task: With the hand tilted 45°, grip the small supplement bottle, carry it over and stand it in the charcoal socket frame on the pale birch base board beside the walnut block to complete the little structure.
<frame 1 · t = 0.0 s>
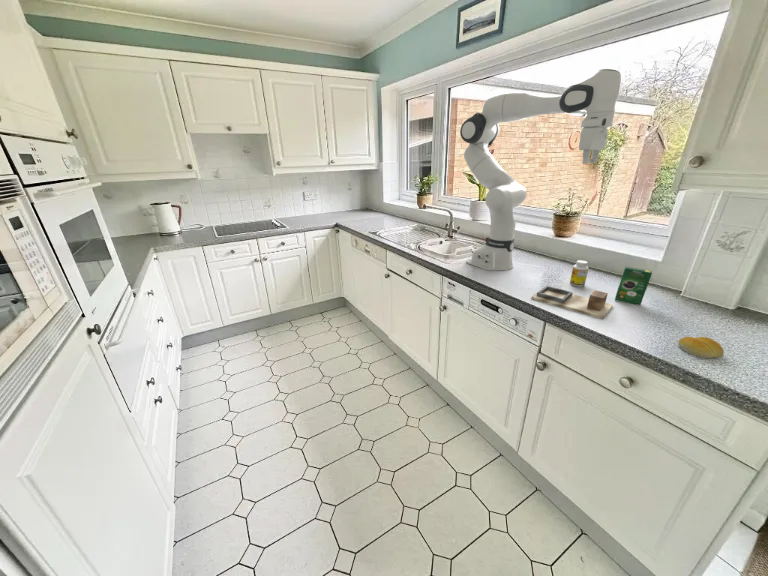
hand: (589, 163, 120), 48 cm above the countertop, tool pointing down, fingers open, 8 cm apart
coffee box: (627, 302, 119), on the countertop
supplement bottle: (576, 284, 135), on the countertop
bread roll: (698, 351, 89), on the countertop
wooden board with frame: (570, 302, 119), on the countertop
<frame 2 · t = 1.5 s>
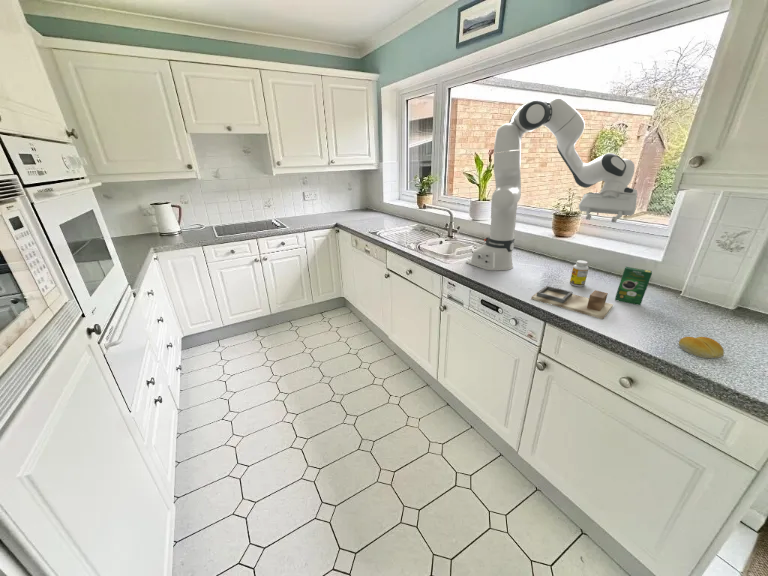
hand: (600, 220, 134), 25 cm above the countertop, tool tilted 45°, fingers open, 8 cm apart
nothing on the countertop moved.
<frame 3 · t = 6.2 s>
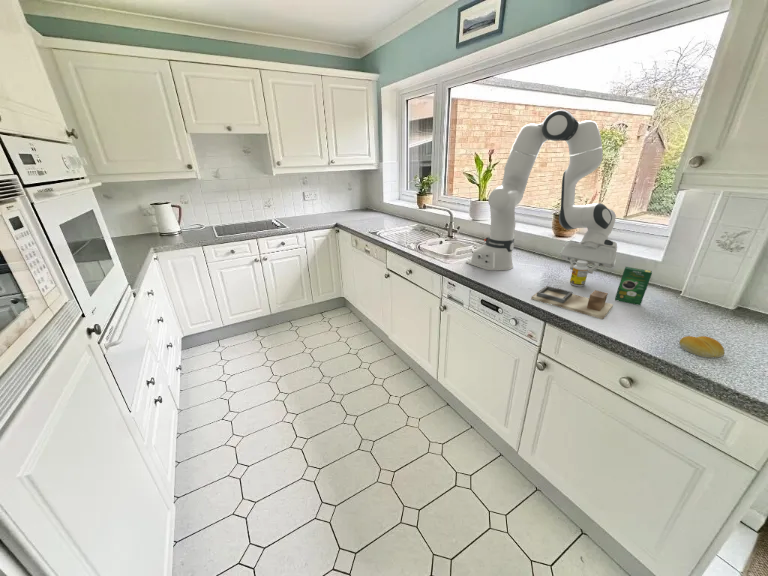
hand: (580, 270, 133), 6 cm above the countertop, tool tilted 45°, fingers closed on supplement bottle, 5 cm apart
supplement bottle: (576, 284, 135), on the countertop, touching gripper
everything else where it was.
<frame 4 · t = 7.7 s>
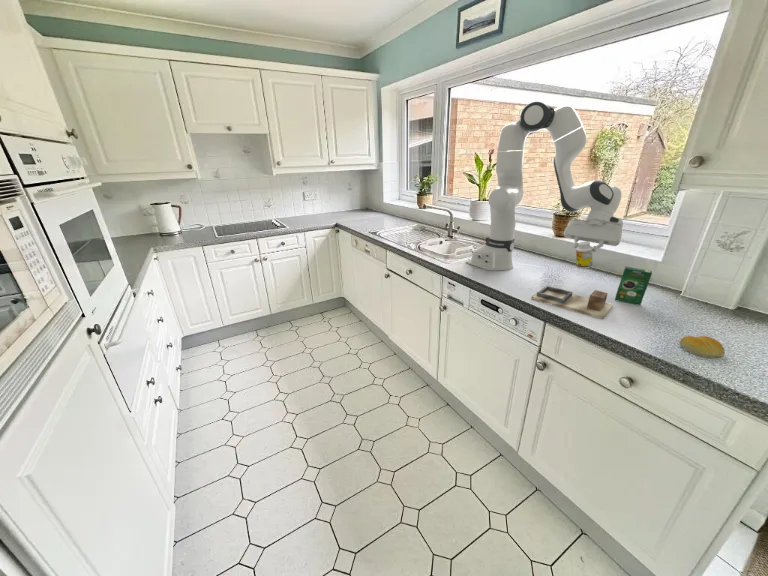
hand: (584, 249, 130), 15 cm above the countertop, tool tilted 45°, fingers closed on supplement bottle, 5 cm apart
supplement bottle: (584, 267, 131), point 8 cm above the countertop, touching gripper
everything else where it was.
when the fingers open (15 cm above the countertop, at t = 10.7 s): supplement bottle drops 6 cm, resting on wooden board with frame.
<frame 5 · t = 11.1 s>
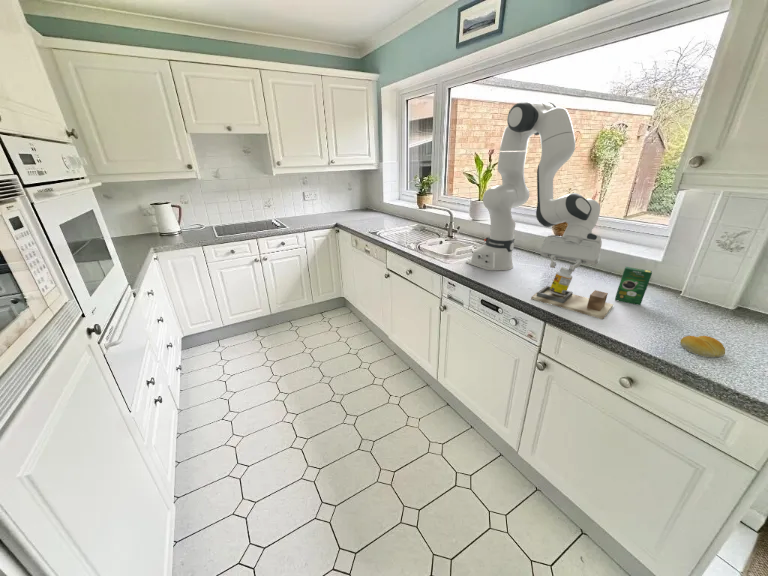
hand: (561, 268, 118), 12 cm above the countertop, tool tilted 45°, fingers open, 5 cm apart
supplement bottle: (556, 294, 123), point 1 cm above the countertop, touching wooden board with frame, gripper
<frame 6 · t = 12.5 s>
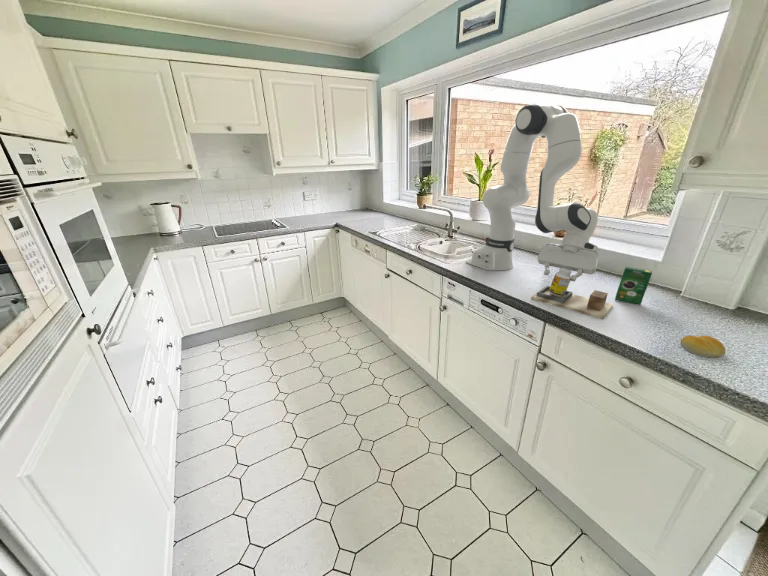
hand: (558, 277, 120), 8 cm above the countertop, tool tilted 45°, fingers open, 8 cm apart
supplement bottle: (555, 294, 123), point 1 cm above the countertop, touching wooden board with frame
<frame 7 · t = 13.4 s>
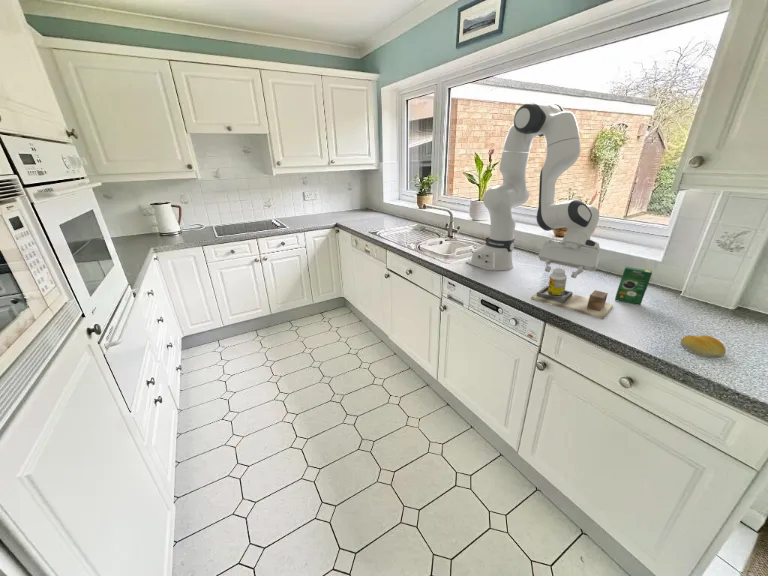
hand: (559, 274, 121), 9 cm above the countertop, tool tilted 45°, fingers open, 8 cm apart
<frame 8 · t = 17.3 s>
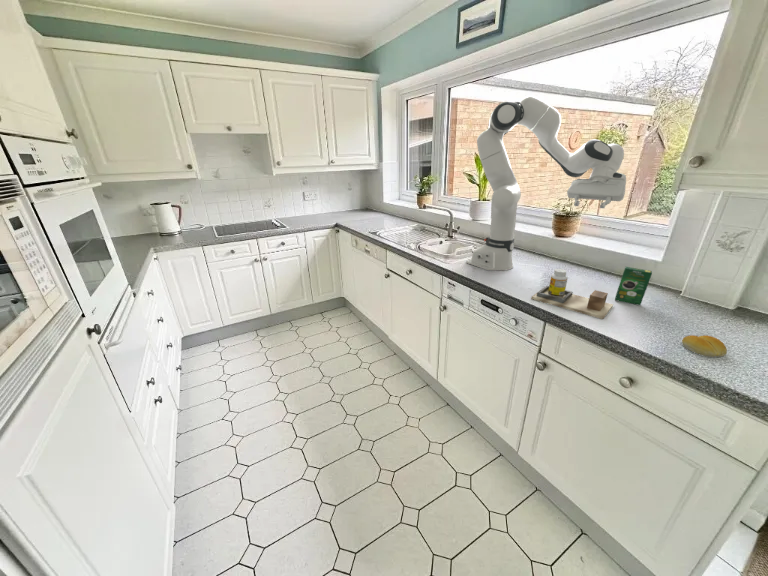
hand: (588, 206, 130), 31 cm above the countertop, tool tilted 45°, fingers open, 8 cm apart
at the end: supplement bottle 0.9 cm from the target spot on the wooden board with frame, point 0.9 cm above the wooden board with frame's base; supplement bottle tilted 2°; the gripper is holding nothing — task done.
